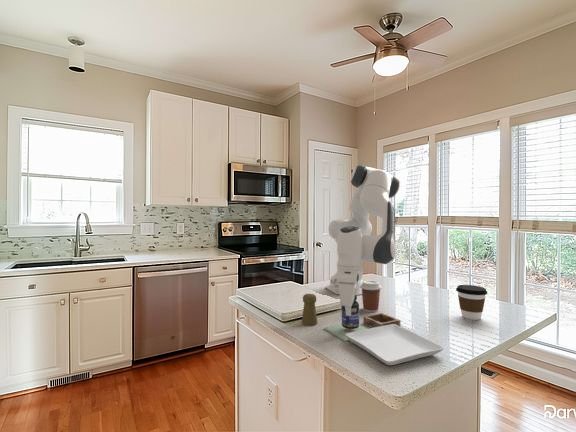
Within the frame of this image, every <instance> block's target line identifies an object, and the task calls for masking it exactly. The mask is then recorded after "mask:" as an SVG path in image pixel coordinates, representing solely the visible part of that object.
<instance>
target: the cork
mask: <svg viewBox="0 0 576 432" xmlns="http://www.w3.org/2000/svg"><path fill="white" fill-rule="evenodd" d="M302 302H303V311H302V316H301V318H302V319H301V324H302V325H304V326H307V327H313V326H316V325H318V317H317V316H318V315H317V309H316V308H317V307H316V303H317V295H315V294H314V293H305V294H304V295H303V296H302Z"/></svg>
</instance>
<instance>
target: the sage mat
mask: <svg viewBox="0 0 576 432" xmlns="http://www.w3.org/2000/svg"><path fill="white" fill-rule="evenodd" d="M365 329H368V328H367V327H365V326H362V325H360V324H359V327H358V328H356V329H347V328H344V327H343V326H342V323H338V324H334V325H329V326H324V327H323V330H325V331H327V333H330V334H331V335H334V336H335V337H336V338H338V339H340V340H342V341H343V342H345V343H348V342H351V341H350V340H349V339H348V338H347V337H346V336H345V334H346V333H350V332H355V331H360V330H365Z"/></svg>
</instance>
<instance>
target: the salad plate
mask: <svg viewBox="0 0 576 432" xmlns="http://www.w3.org/2000/svg"><path fill="white" fill-rule="evenodd" d="M345 336H346V337H347V338H348V339H349V340H350V341H349V342H351V343H353V344H355V345H356V346H358V347H360V348H361V349H362V350H364V351H366V352H368V353H369V354H370V355H372V356H373V357H374V358H376V359H378V360H379V361H380V362H381V363H384V364H385V365H387V366H394V365H398V364H402V363H405V362H406V363H407V362H411V361H414V360H418V359H421V358H425V357H429V356H434V355H437V354H439V353H441V352H442V351H443V350H444V346H442V345H440V344H437V343H436V342H434V341H432V340H430V339H428V338H425V337H424V336H421V335H419V334H417V333H416V332H414V331H411V330H409V329H407V328H405V327H403V326H401V325H400V326H398V325H396V324H391V325H385V326H380V327H375V328H373V327H371V328H367V329H365V330H360V331H355V332H350V333H346V334H345Z"/></svg>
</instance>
